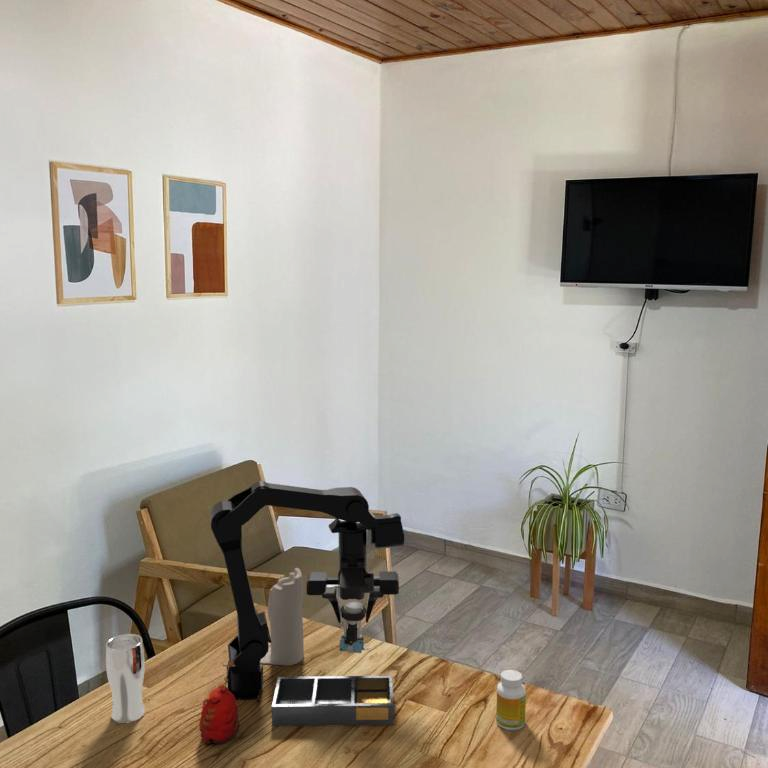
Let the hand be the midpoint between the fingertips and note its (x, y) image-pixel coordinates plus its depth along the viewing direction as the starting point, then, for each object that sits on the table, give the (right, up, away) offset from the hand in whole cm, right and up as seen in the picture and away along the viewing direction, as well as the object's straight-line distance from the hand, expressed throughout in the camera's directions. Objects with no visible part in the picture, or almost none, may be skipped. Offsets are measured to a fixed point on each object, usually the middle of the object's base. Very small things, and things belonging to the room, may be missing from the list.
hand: (353, 622), depth 162 cm
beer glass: (-43, -15, -12) cm, 47 cm away
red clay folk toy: (-24, -16, -18) cm, 34 cm away
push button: (0, -6, +1) cm, 7 cm away
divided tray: (-3, -14, -10) cm, 17 cm away
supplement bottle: (+30, -15, -14) cm, 37 cm away
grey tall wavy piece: (-18, -11, +10) cm, 24 cm away
